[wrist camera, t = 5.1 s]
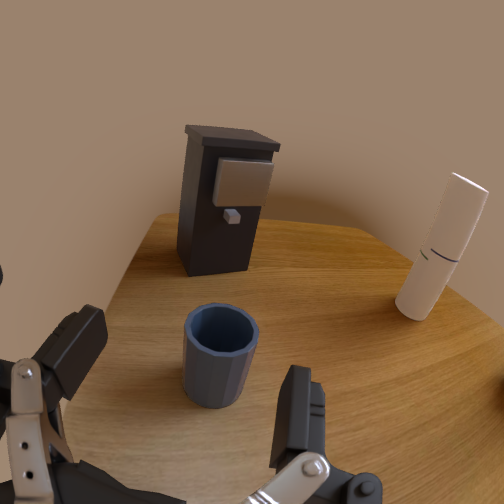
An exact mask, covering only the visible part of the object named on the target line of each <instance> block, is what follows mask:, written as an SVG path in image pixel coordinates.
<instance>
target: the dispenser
mask: <svg viewBox="0 0 504 504" xmlns="http://www.w3.org/2000/svg"><path fill="white" fill-rule="evenodd" d="M185 133H186V134H188V143H187V149H186V157H185V165H184V173H183V182H182V191H181V192H182V193H181V201H180V213H179V223H178V236H177V251H178V254H179V256H180V258H181V261H182V263H183V265H184V267H185V270H186V272H187V274H188V276H189V277H192V276H201V275H210V274H219V273H228V272H237V271H246V270H247V269H248V265H249V260H250V256H251V251H252V247H253V242H254V238H255V233H256V229H257V224H258V220H259V215H260V211H261V206H220V207H216V206H215V205H214V204H213V202H212V198H213V191H214V185H215V178H216V172H217V166H218V160H219V157H230V158H246V159H259V160H269V161H270V162H272V157H273V152H274V151H275V152H279V149H280V143H278V142H276V141H273V140H271V139H269V138H267V137H265V136H263V135H261V134H259V133H257V132H254V131H252V130H243V129H234V128H224V127H212V126H197V125H186V127H185Z"/></svg>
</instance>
